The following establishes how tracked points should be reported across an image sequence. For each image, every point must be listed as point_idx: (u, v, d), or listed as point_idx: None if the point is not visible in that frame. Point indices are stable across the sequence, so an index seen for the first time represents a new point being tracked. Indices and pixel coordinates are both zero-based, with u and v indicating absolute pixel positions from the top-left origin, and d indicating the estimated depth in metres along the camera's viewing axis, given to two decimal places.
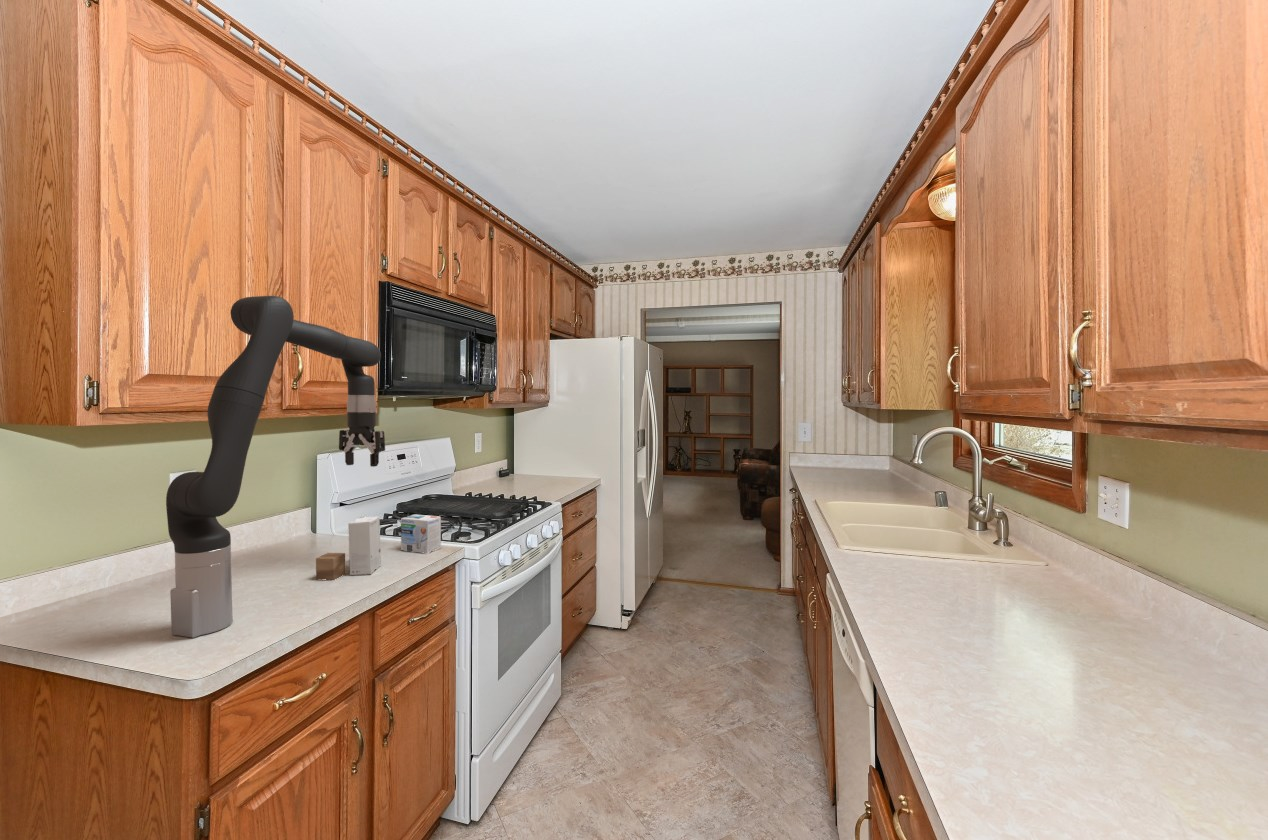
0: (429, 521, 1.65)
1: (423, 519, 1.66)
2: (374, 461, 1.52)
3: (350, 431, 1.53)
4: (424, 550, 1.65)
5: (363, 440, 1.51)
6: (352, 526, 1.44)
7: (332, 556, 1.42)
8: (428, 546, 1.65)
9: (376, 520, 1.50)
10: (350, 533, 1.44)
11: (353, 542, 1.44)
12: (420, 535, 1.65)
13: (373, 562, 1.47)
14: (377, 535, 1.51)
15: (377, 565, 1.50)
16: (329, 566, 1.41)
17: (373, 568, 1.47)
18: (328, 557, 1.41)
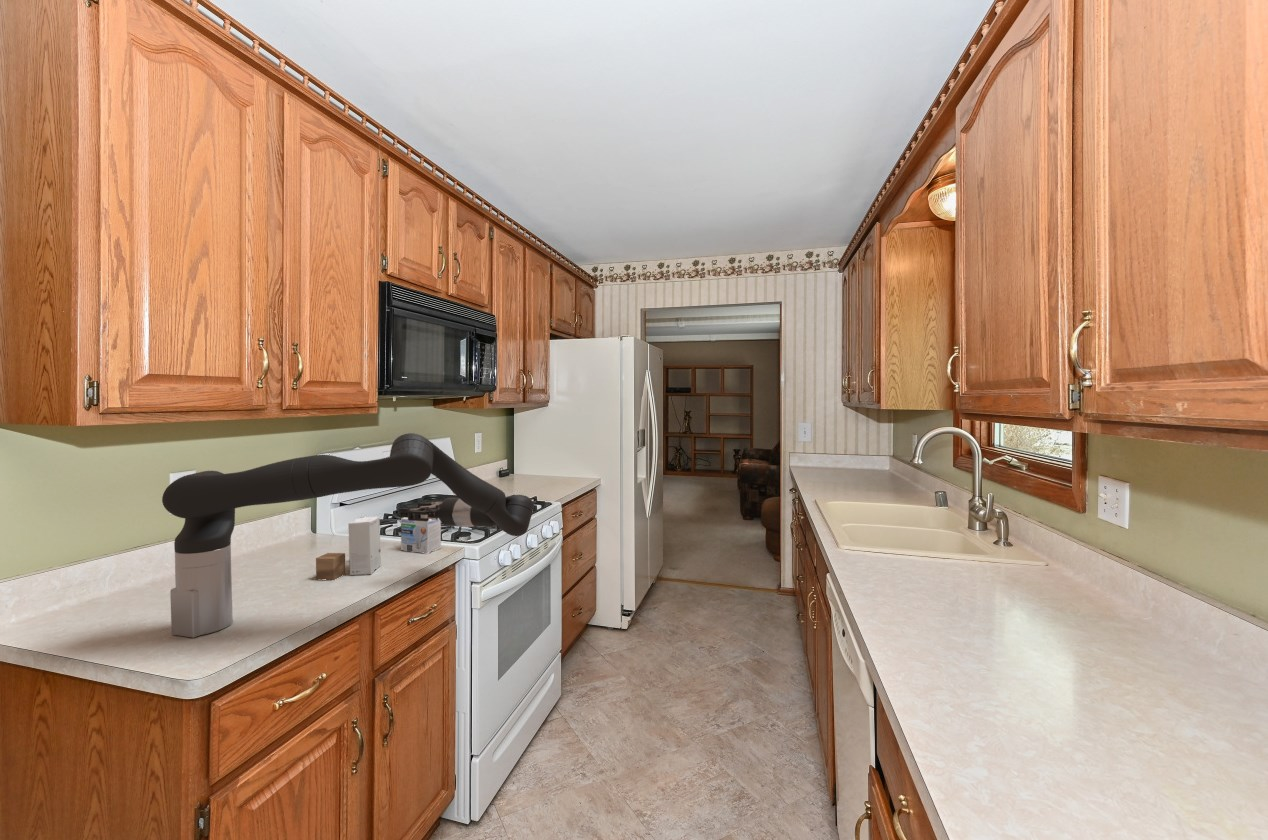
0: (429, 521, 1.65)
1: None
2: (402, 510, 1.40)
3: None
4: (424, 550, 1.65)
5: (429, 506, 1.41)
6: (352, 526, 1.44)
7: (332, 556, 1.42)
8: (428, 546, 1.65)
9: (376, 520, 1.50)
10: (350, 533, 1.44)
11: (353, 542, 1.44)
12: (420, 535, 1.65)
13: (373, 562, 1.47)
14: (377, 535, 1.51)
15: (377, 565, 1.50)
16: (329, 566, 1.41)
17: (373, 568, 1.47)
18: (328, 557, 1.41)
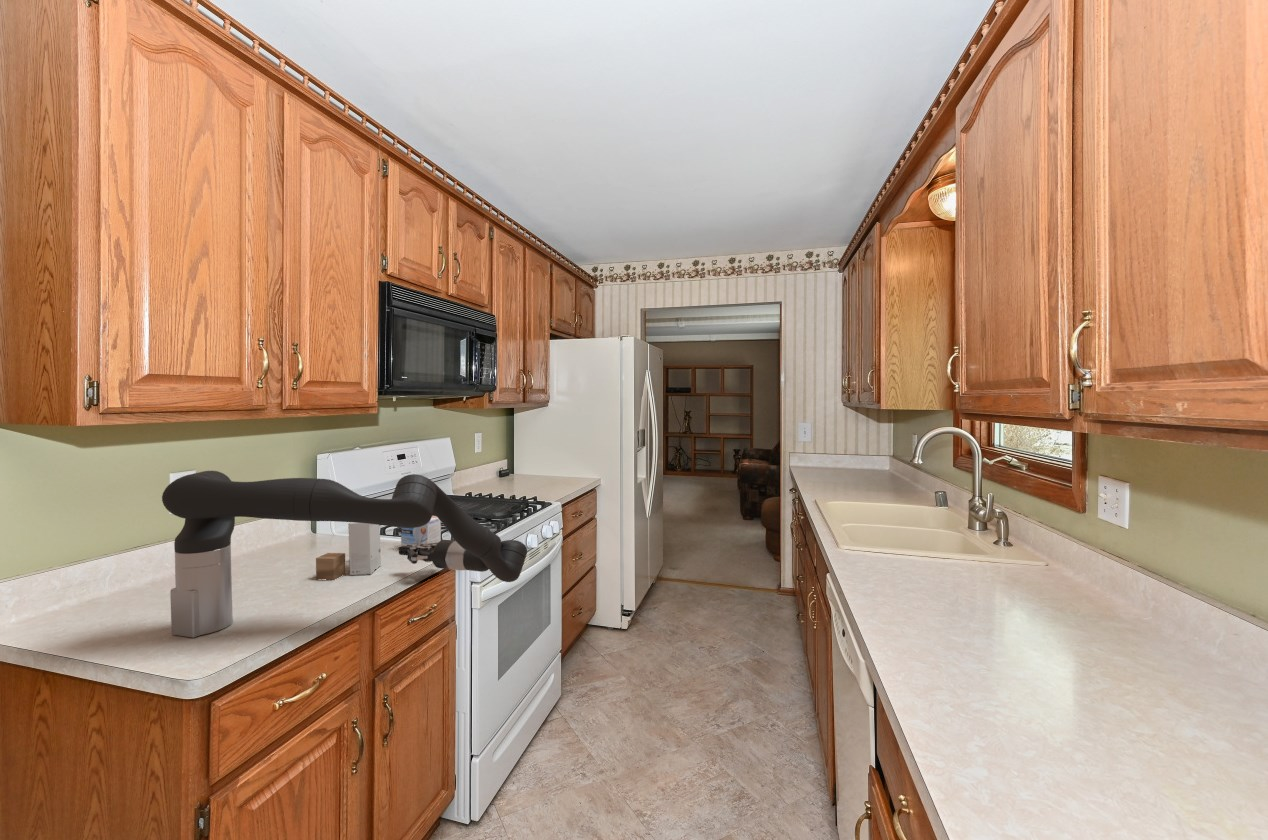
0: (429, 521, 1.65)
1: None
2: (402, 549, 1.44)
3: None
4: None
5: (424, 547, 1.42)
6: (352, 526, 1.44)
7: (332, 556, 1.42)
8: None
9: None
10: (350, 533, 1.44)
11: (353, 542, 1.44)
12: (420, 535, 1.65)
13: (373, 562, 1.47)
14: (377, 535, 1.51)
15: (377, 565, 1.50)
16: (329, 566, 1.41)
17: (373, 568, 1.47)
18: (328, 557, 1.41)
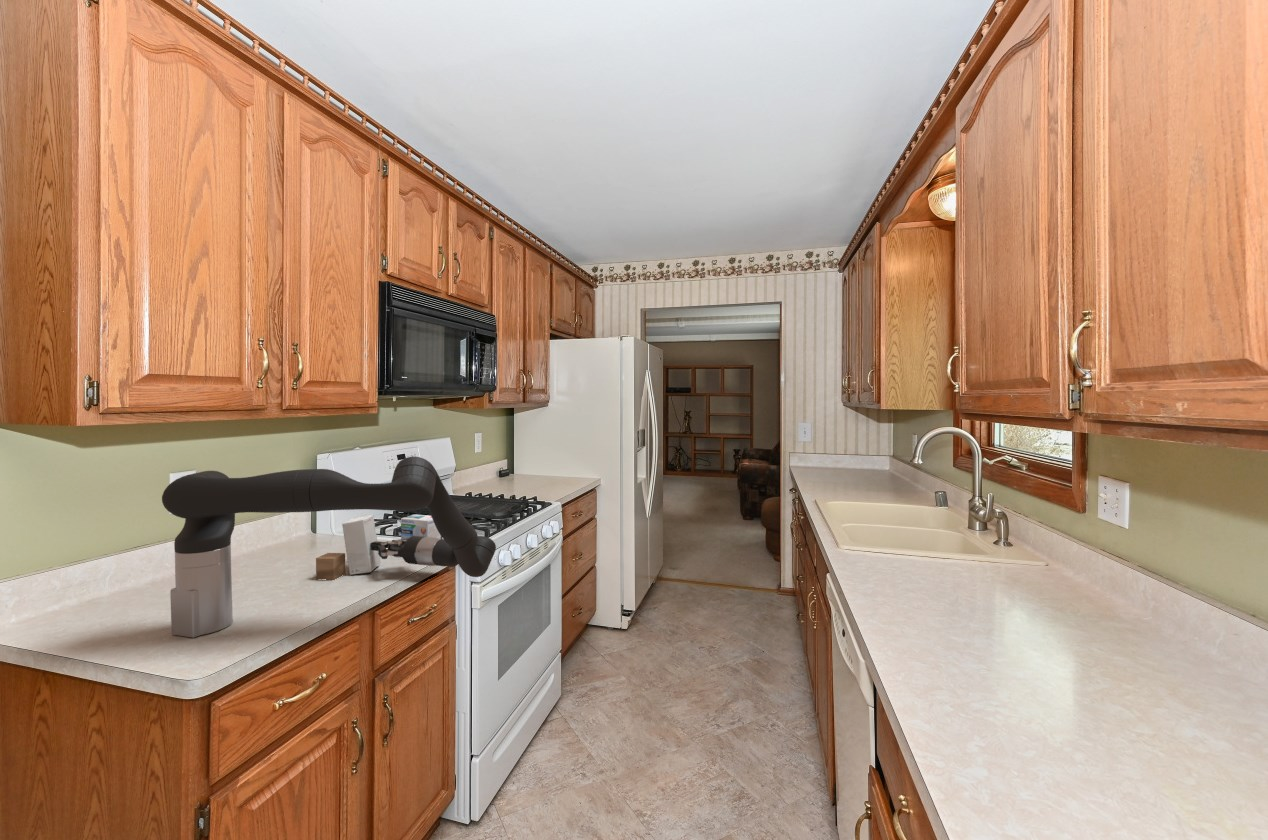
0: (429, 521, 1.65)
1: (423, 519, 1.66)
2: (373, 544, 1.46)
3: None
4: None
5: (395, 543, 1.45)
6: (346, 526, 1.44)
7: (332, 556, 1.42)
8: None
9: (370, 518, 1.50)
10: (345, 533, 1.44)
11: (349, 541, 1.44)
12: (420, 535, 1.65)
13: (371, 559, 1.47)
14: (373, 533, 1.51)
15: (377, 563, 1.50)
16: (329, 566, 1.41)
17: (372, 566, 1.47)
18: (328, 557, 1.41)
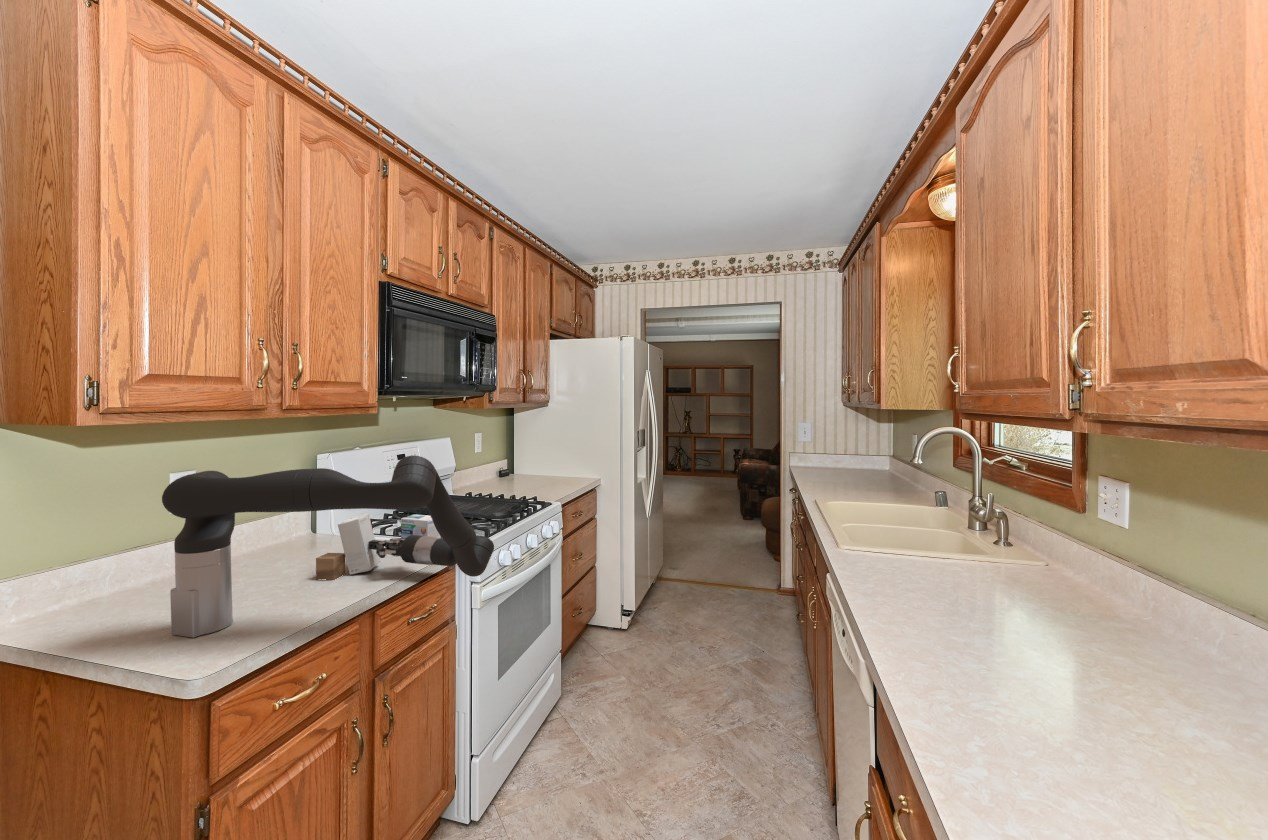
0: (429, 521, 1.65)
1: (423, 519, 1.66)
2: (371, 543, 1.46)
3: None
4: None
5: (393, 542, 1.45)
6: (342, 527, 1.44)
7: (332, 556, 1.42)
8: None
9: (366, 517, 1.50)
10: (341, 534, 1.44)
11: (346, 541, 1.44)
12: (420, 535, 1.65)
13: (370, 558, 1.47)
14: (370, 532, 1.51)
15: (376, 562, 1.50)
16: (329, 566, 1.41)
17: (372, 564, 1.47)
18: (328, 557, 1.41)
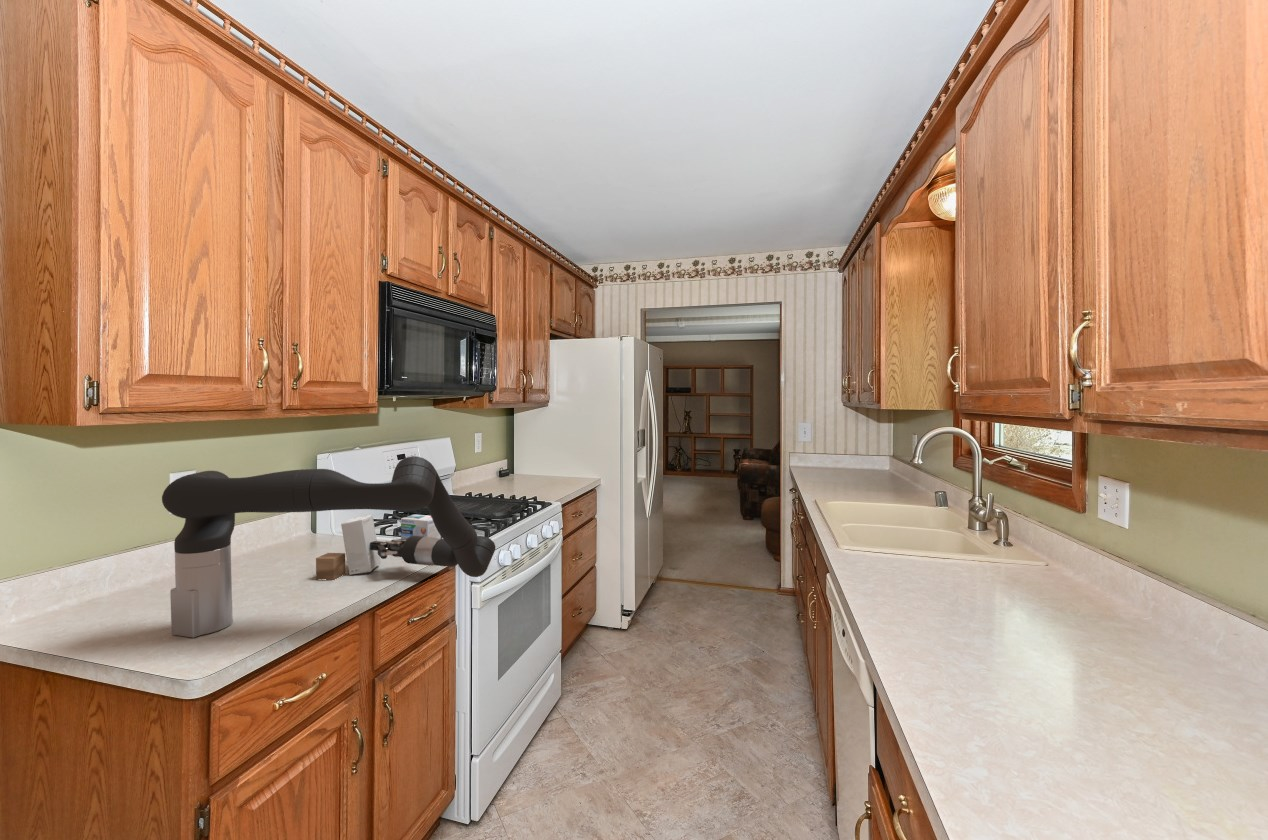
0: (429, 521, 1.65)
1: (423, 519, 1.66)
2: (373, 544, 1.46)
3: None
4: None
5: (394, 542, 1.45)
6: (345, 526, 1.44)
7: (332, 556, 1.42)
8: None
9: (369, 518, 1.50)
10: (344, 533, 1.44)
11: (348, 541, 1.44)
12: (420, 535, 1.65)
13: (371, 559, 1.47)
14: (373, 533, 1.51)
15: (376, 563, 1.50)
16: (329, 566, 1.41)
17: (372, 565, 1.47)
18: (328, 557, 1.41)
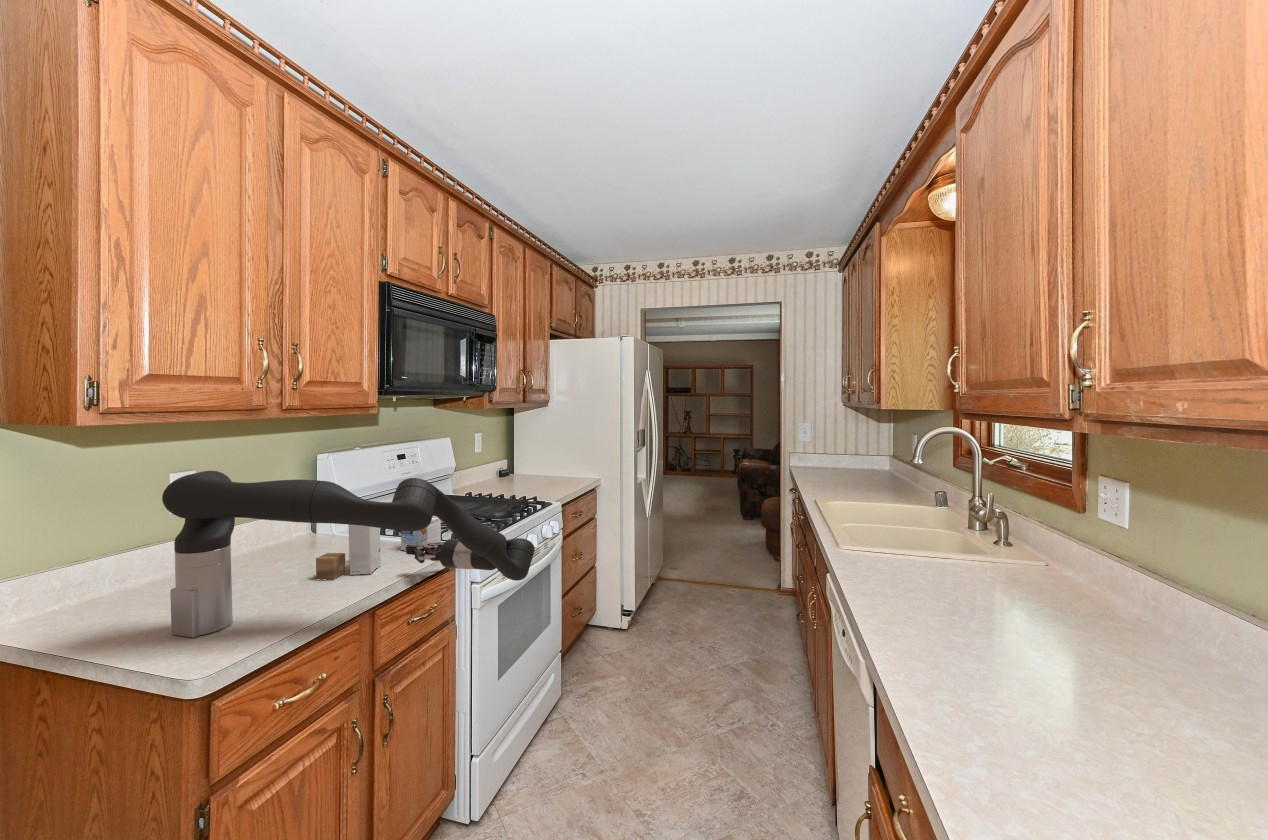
0: None
1: None
2: (409, 548, 1.44)
3: None
4: None
5: (431, 546, 1.42)
6: (352, 526, 1.44)
7: (332, 556, 1.42)
8: None
9: None
10: (350, 533, 1.44)
11: (353, 541, 1.44)
12: (420, 535, 1.65)
13: (373, 561, 1.47)
14: (377, 535, 1.51)
15: (377, 565, 1.51)
16: (329, 566, 1.41)
17: (373, 568, 1.47)
18: (328, 557, 1.41)
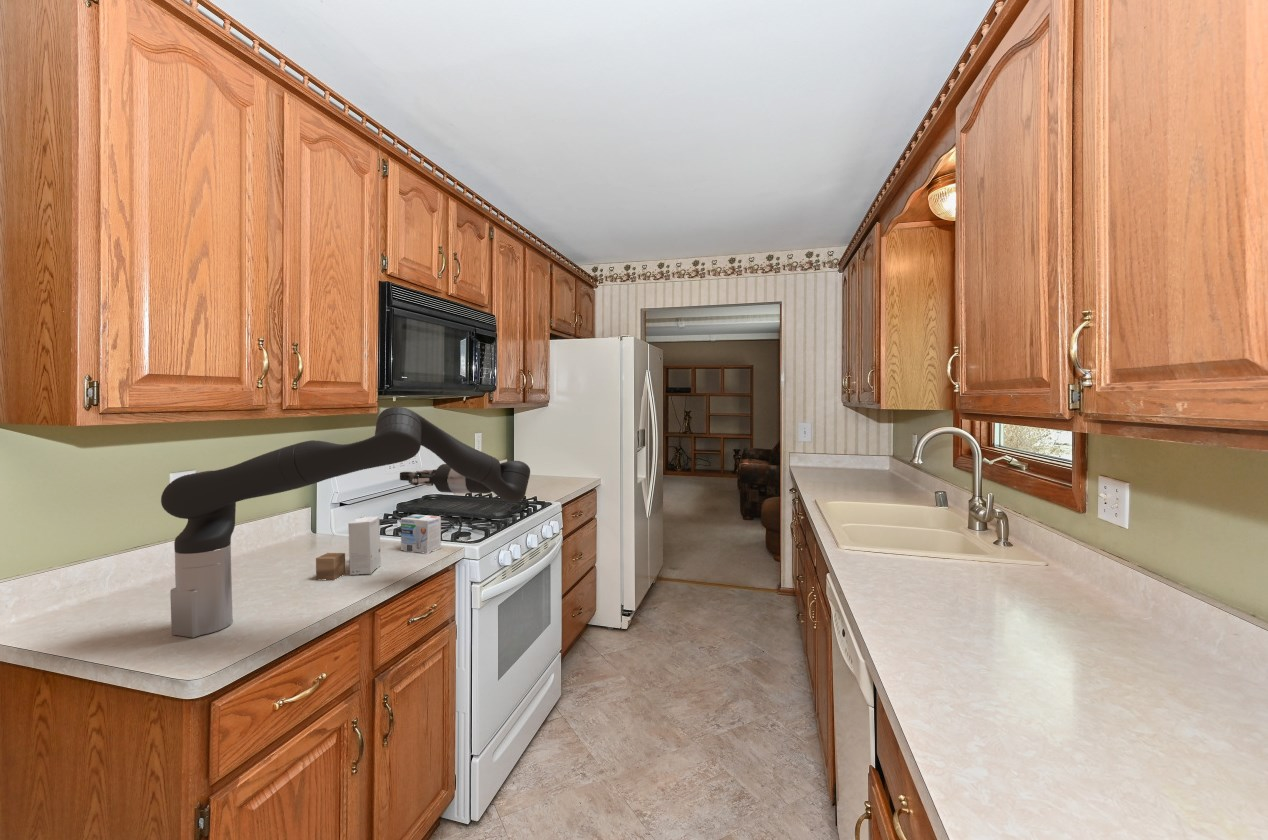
0: (429, 521, 1.65)
1: (423, 519, 1.66)
2: (403, 474, 1.41)
3: None
4: (424, 550, 1.65)
5: (426, 471, 1.39)
6: (352, 526, 1.44)
7: (332, 556, 1.42)
8: (428, 546, 1.65)
9: (376, 520, 1.50)
10: (350, 533, 1.44)
11: (353, 541, 1.44)
12: (420, 535, 1.65)
13: (373, 561, 1.47)
14: (377, 535, 1.51)
15: (377, 565, 1.51)
16: (329, 566, 1.41)
17: (373, 568, 1.47)
18: (328, 557, 1.41)
